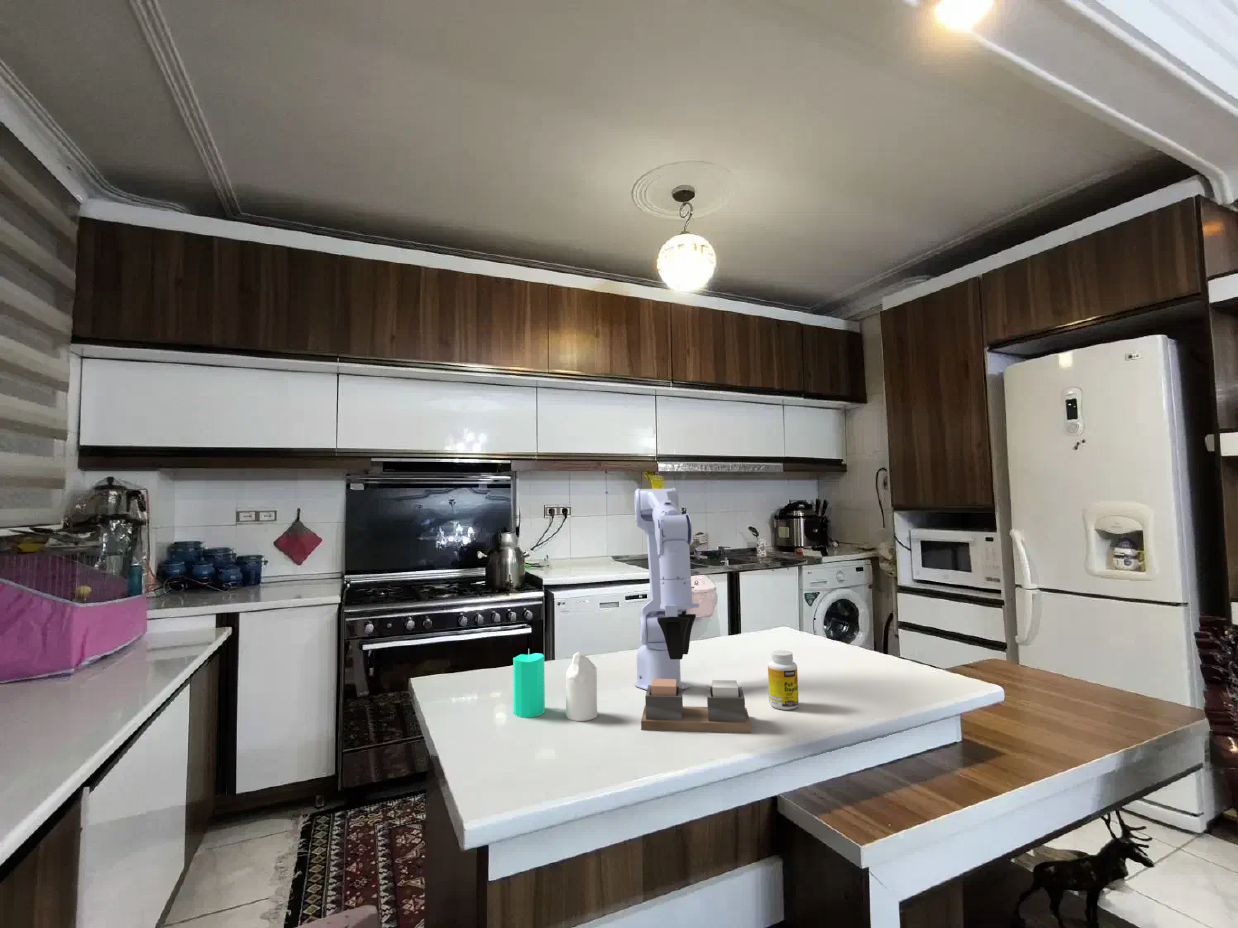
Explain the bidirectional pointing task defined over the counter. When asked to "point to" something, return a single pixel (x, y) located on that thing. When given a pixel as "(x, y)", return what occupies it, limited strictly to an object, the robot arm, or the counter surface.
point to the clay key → (664, 687)
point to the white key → (725, 688)
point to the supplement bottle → (783, 681)
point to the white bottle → (581, 689)
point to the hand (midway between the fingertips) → (679, 656)
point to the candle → (528, 685)
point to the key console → (696, 713)
